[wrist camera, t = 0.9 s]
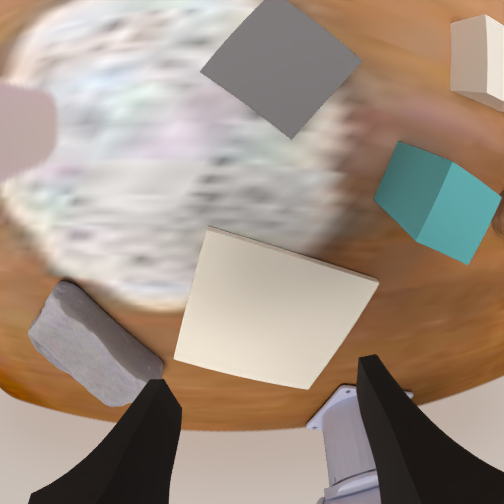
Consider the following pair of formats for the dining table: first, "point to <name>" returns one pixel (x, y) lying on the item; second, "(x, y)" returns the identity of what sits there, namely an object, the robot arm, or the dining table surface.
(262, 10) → the charcoal block
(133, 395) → the stone block
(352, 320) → the coaster
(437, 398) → the dining table surface
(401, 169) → the teal block
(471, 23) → the off-white block
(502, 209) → the grey cylinder
